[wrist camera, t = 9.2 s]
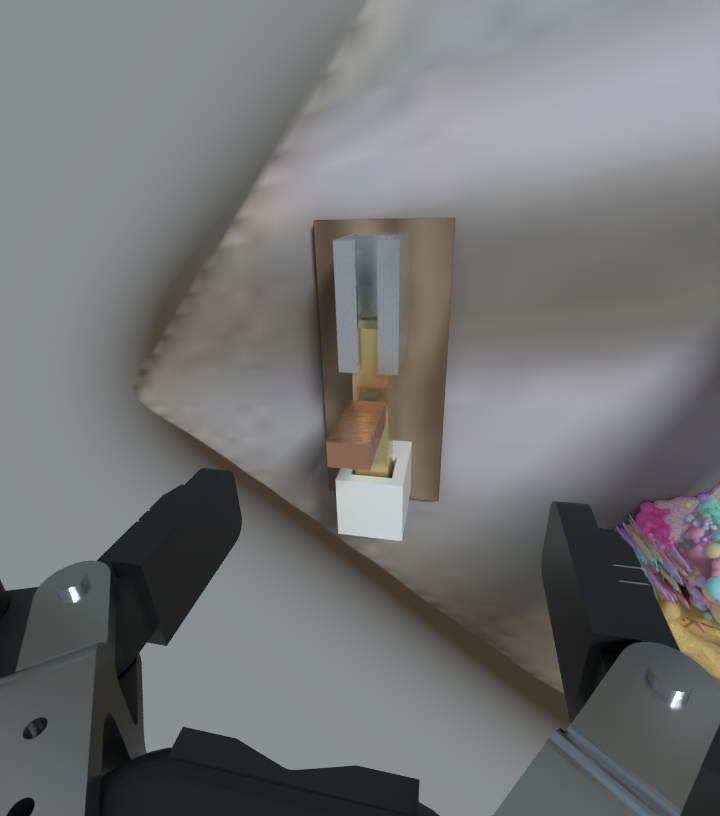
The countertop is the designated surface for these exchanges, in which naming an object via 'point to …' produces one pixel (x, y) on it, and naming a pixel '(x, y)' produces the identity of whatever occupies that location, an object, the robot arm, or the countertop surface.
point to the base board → (427, 340)
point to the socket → (375, 499)
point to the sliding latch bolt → (365, 415)
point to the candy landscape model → (683, 569)
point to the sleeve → (372, 296)
